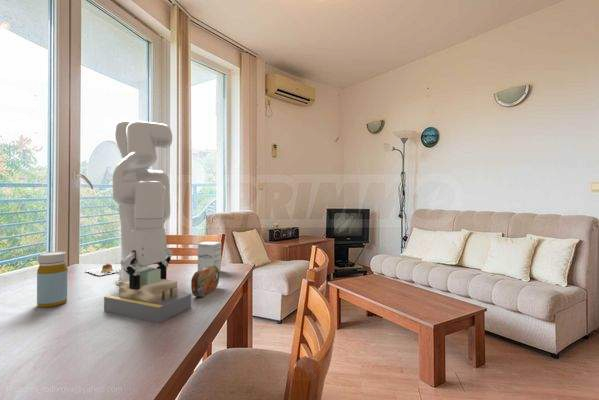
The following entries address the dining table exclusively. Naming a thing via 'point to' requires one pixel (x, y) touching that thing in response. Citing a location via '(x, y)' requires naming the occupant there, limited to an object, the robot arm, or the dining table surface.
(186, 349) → the dining table surface
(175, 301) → the dock
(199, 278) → the tin
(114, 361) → the dining table surface
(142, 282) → the box
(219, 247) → the supplement box
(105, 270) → the dessert
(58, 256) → the bottle
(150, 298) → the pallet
